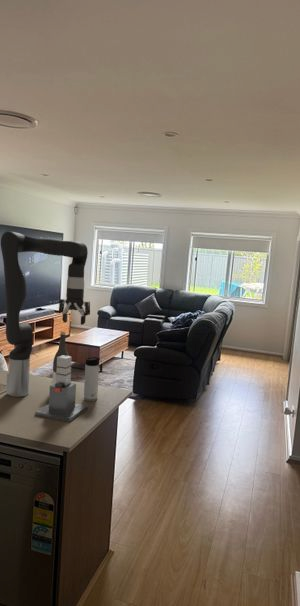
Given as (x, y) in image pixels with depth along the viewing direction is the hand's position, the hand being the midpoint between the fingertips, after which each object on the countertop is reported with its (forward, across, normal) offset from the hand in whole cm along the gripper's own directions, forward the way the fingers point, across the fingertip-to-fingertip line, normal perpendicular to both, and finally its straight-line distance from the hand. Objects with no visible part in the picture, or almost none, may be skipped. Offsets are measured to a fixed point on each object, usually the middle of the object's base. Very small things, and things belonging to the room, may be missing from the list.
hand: (73, 323), depth 185 cm
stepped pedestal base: (+36, +3, -13) cm, 38 cm away
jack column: (+30, +3, -13) cm, 33 cm away
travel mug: (+36, +7, +7) cm, 38 cm away
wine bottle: (+36, -10, +9) cm, 39 cm away
